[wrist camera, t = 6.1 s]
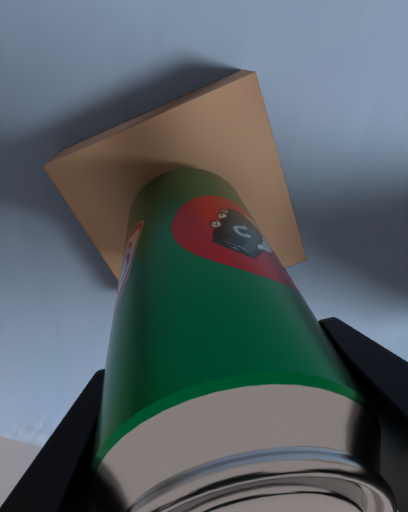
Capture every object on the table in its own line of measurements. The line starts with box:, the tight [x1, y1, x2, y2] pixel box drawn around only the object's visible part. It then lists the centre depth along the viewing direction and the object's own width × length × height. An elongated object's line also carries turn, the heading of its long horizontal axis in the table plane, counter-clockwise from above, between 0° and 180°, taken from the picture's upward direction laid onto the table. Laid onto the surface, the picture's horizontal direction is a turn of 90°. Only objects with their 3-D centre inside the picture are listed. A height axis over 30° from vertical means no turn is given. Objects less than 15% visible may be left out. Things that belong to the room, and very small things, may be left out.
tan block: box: [43, 70, 307, 281], centre depth 16 cm, size 9×9×2 cm
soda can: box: [88, 168, 397, 512], centre depth 10 cm, size 5×5×12 cm
